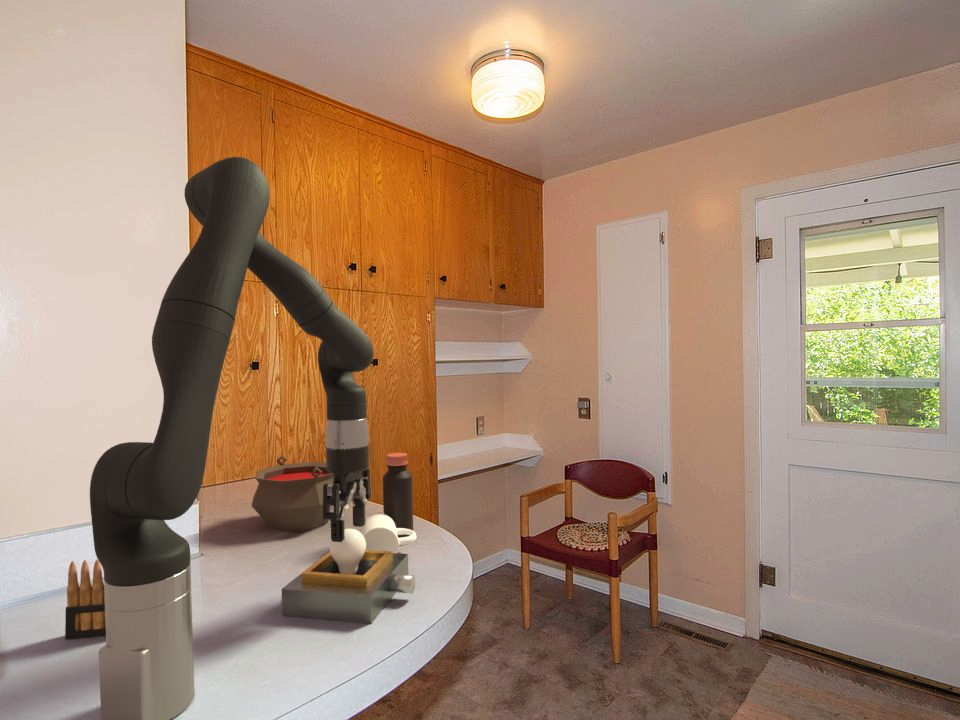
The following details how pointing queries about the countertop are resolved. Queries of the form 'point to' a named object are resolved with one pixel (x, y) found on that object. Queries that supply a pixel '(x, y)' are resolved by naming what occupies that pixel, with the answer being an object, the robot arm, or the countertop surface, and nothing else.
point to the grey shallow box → (348, 588)
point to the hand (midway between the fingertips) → (349, 533)
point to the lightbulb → (349, 551)
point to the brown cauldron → (292, 495)
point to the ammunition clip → (85, 603)
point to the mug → (384, 534)
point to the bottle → (398, 491)
